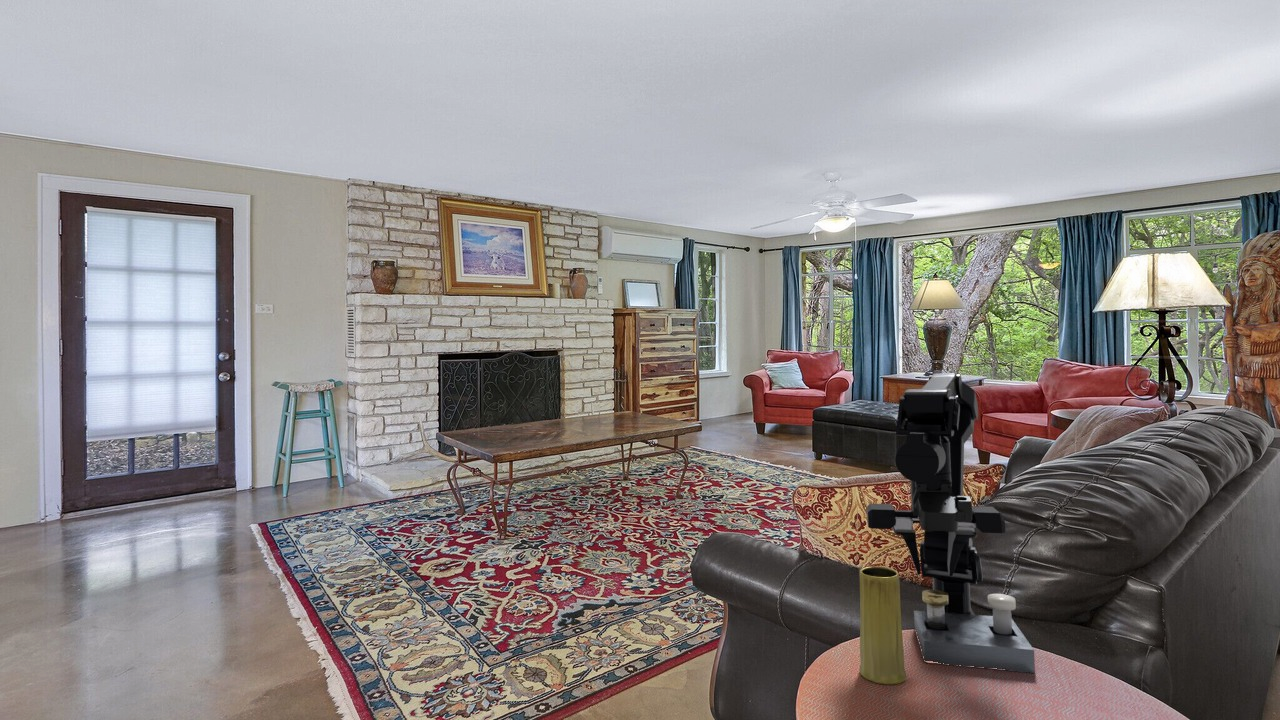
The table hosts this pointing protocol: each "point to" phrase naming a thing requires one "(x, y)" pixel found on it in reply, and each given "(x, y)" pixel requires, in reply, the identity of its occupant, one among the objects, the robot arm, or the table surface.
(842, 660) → the table surface
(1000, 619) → the knob ivory
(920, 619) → the mount
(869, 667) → the vase
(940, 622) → the knob brass
